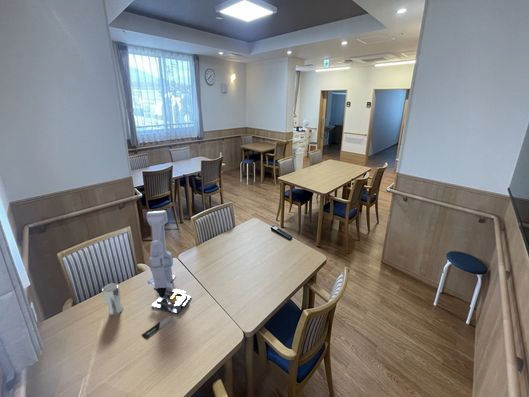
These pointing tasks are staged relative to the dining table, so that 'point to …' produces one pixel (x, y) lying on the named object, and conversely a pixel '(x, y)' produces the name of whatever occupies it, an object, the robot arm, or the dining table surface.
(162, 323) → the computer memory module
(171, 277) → the robot arm
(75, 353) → the dining table surface
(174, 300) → the grey orange block
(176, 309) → the heatsink plate
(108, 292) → the beer glass
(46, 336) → the dining table surface
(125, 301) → the dining table surface
